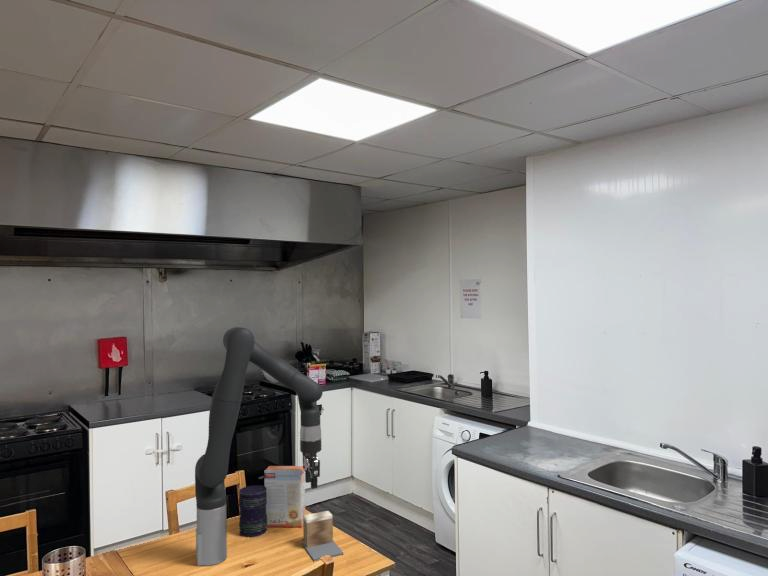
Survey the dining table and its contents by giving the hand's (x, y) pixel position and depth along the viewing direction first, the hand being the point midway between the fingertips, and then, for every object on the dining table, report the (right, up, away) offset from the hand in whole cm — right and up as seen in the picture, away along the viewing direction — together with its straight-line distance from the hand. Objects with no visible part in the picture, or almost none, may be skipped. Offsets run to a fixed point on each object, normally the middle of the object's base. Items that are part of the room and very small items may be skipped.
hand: (311, 485), depth 184 cm
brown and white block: (+3, -17, -7) cm, 19 cm away
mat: (+5, -17, -11) cm, 21 cm away
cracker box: (-11, -18, +10) cm, 24 cm away
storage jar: (-22, -18, +4) cm, 29 cm away
